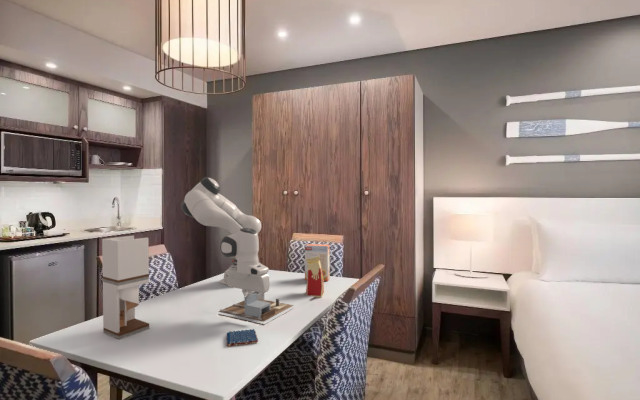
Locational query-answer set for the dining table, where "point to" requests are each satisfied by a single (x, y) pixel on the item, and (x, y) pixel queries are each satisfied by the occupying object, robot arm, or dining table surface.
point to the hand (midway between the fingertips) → (247, 299)
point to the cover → (255, 306)
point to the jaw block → (259, 296)
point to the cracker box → (324, 254)
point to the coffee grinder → (123, 284)
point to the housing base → (275, 309)
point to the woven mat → (241, 337)
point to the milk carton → (315, 278)
